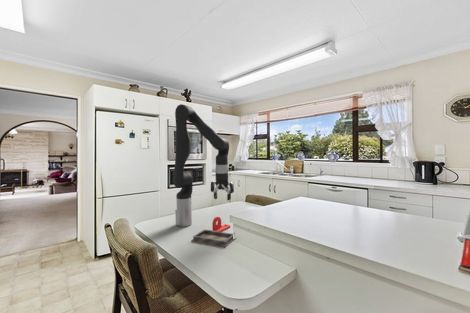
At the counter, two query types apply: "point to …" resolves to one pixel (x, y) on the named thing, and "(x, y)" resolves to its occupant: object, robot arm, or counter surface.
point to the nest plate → (213, 238)
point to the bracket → (219, 225)
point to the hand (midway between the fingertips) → (222, 199)
